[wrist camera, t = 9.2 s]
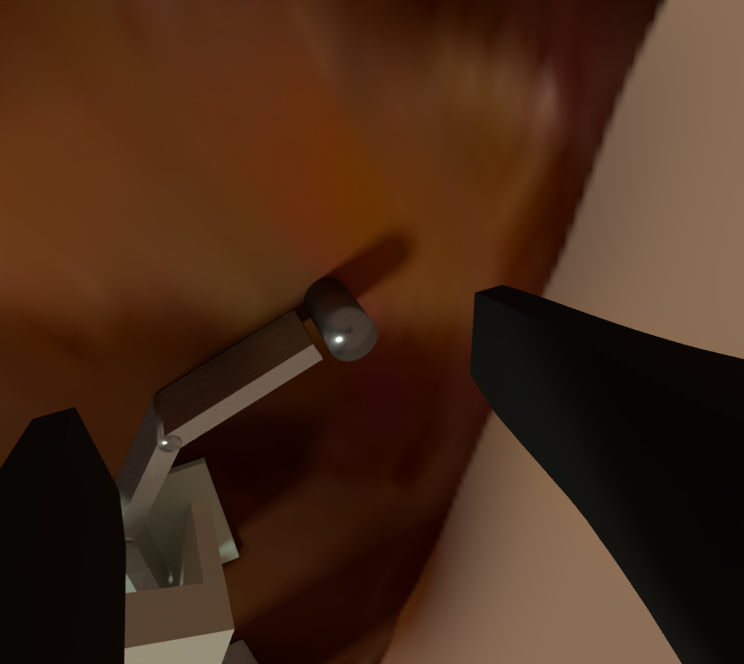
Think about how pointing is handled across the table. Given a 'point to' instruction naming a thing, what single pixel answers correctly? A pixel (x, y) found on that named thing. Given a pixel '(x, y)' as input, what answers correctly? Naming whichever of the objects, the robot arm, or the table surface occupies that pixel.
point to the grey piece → (227, 406)
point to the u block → (183, 604)
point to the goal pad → (185, 512)
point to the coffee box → (238, 654)
